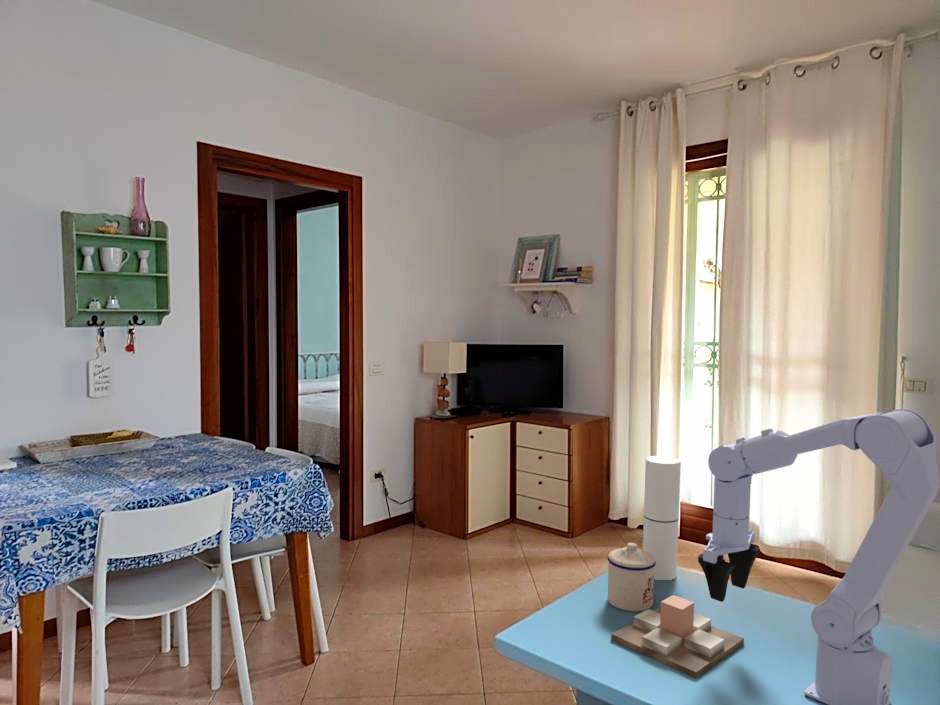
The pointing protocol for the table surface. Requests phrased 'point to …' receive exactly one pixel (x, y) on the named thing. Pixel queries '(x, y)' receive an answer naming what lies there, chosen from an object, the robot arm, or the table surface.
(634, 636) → the walnut board
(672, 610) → the terracotta block
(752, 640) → the table surface
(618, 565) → the teacup with lid
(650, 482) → the cylindrical container
